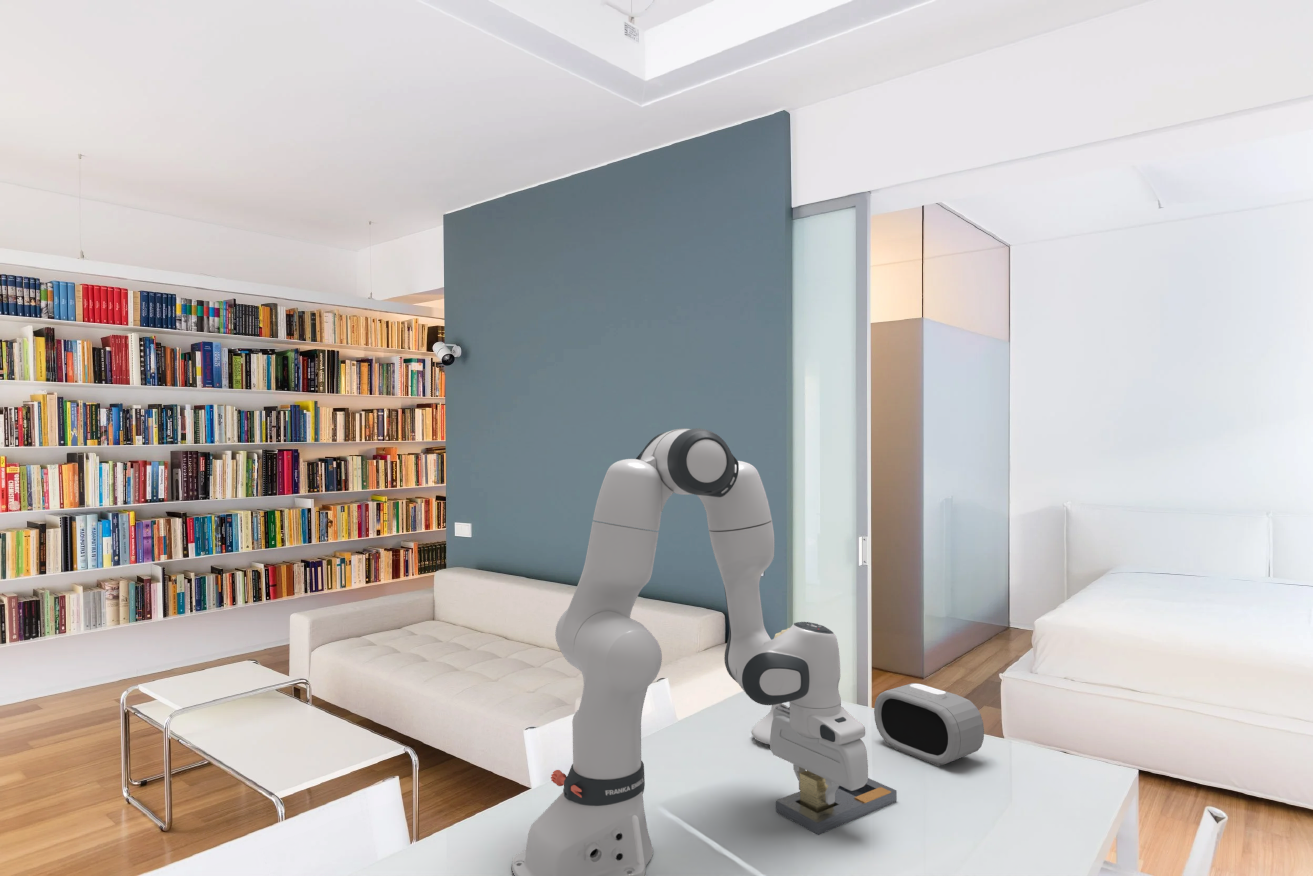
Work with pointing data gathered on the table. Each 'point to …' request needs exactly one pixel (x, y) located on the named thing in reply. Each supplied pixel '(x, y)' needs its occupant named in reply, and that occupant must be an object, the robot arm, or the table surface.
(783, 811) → the rail
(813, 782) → the brass block
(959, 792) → the table surface
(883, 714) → the alarm clock
